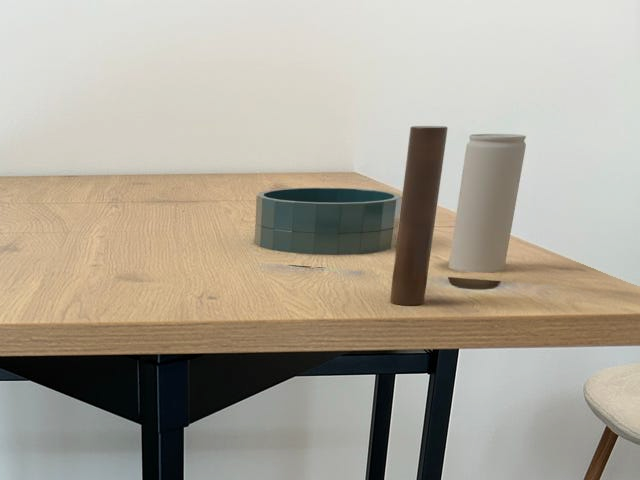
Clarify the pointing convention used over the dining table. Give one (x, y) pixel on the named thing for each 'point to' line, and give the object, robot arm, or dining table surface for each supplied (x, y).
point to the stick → (418, 213)
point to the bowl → (327, 220)
